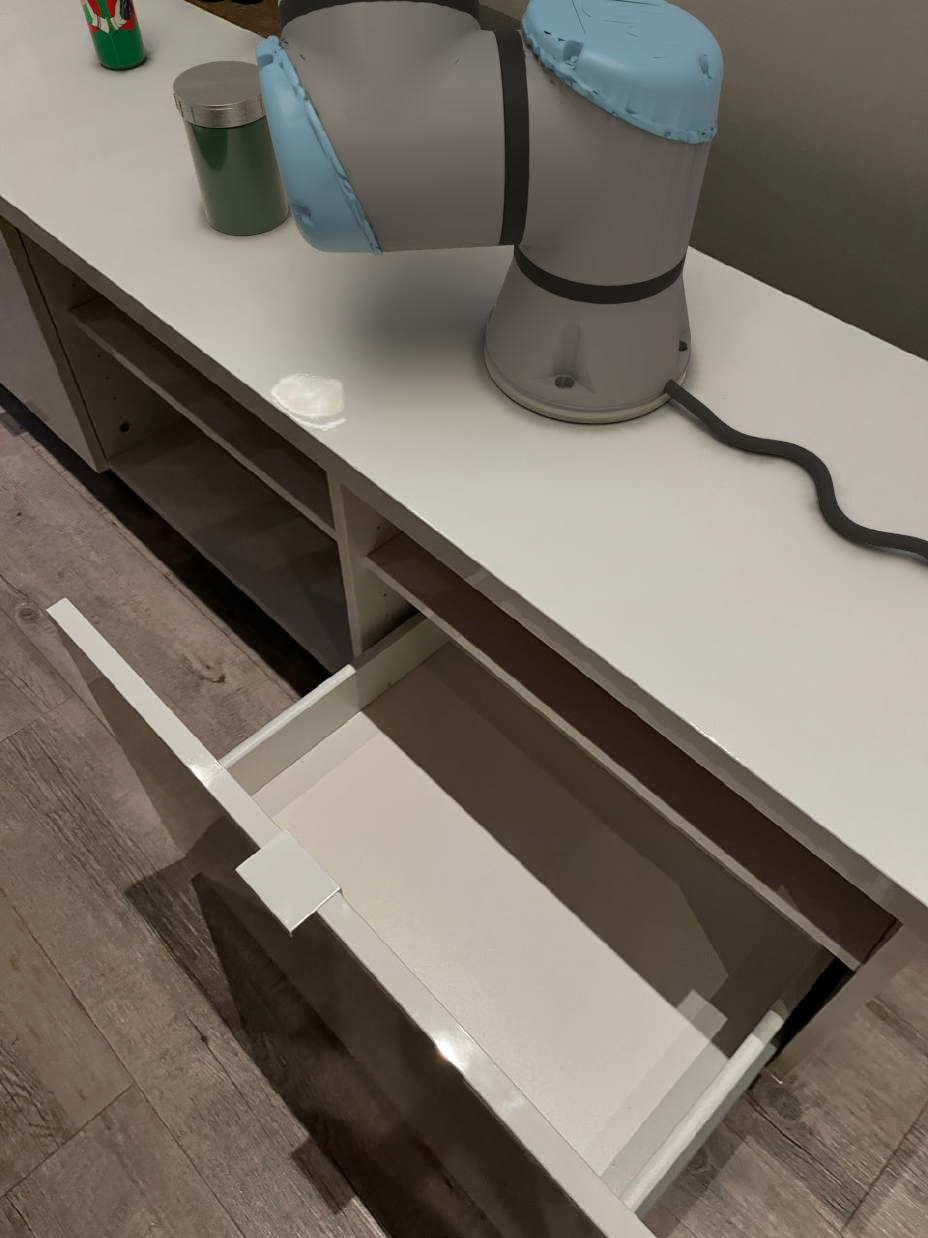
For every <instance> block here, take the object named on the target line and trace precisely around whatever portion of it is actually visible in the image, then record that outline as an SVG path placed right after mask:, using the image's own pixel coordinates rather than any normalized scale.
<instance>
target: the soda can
mask: <svg viewBox="0 0 928 1238" xmlns="http://www.w3.org/2000/svg"><path fill="white" fill-rule="evenodd" d="M79 1H80V4H81V8H82V11H83V14H84V19H85V21H86V24H87V27H88V31H89V34H90V37H91V41H92V43H93V47H94V51H95V54H96V58H97V60H98V62H100V64H102V65H103V66H104V67H106V68H108V69H110V70H119V71H120V70H121V71H122V70H129V69H132V68H135V67H137V66H139V65H140V64H142V63H143V61H144V60H145V57H146V54H147V50H146V46H145V43H144V39H143V35H142V31H141V27H140V23H139V18H138V15H137V12H136V8H135V4H134V1H133V0H79Z"/></svg>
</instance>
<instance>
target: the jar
mask: <svg viewBox="0 0 928 1238" xmlns="http://www.w3.org/2000/svg"><path fill="white" fill-rule="evenodd" d="M182 122H183V126H184V130H185V134H186V138H187V139H186V140H187V143H188V148H189V151H190V155H191V159H192V164H193V167H194V168H193V169H194V171H195V176H196V180H197V185H198V189H199V192H200V193H199V194H200V197H201V201H202V205H203V210H204V214H205V218H206V221H207V223H208V225H209V226H210V227H211V228H213V229H214V230H216V231H218V232H219V233H223V234H225V235H231V236H238V237H239V236H240V237H241V236H242V237H243V236H253V235H254V236H255V235H259V234H263V233H266V232H269V231H271V230H273V229H276V228H278V226H280V225H281V224H283V222H284V221H285V220H286V219H287V217H288V216H289V212H290V211H289V209H290V207H289V203H288V200H287V196H286V193H285V189H284V186H283V182H282V179H281V175H280V171H279V167H278V163H277V159H276V155H275V151H274V147H273V143H272V139H271V135H270V130H269V126H268V121H267V117H266V115H264V116H263V117H261V118H260V119H258V120H256V121H253V122H251V123H248V124H244V125H240V126H235V127H226V128H212V127H204V126H199V125H196V124H193V123H190V122H188V121H187V120H185V119H184V118H182Z"/></svg>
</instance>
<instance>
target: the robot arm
mask: <svg viewBox="0 0 928 1238" xmlns="http://www.w3.org/2000/svg"><path fill="white" fill-rule="evenodd" d="M277 7H278V16H279V28H280V29H279V30H280V37H278V36H277V35H269V36H268V37H267V38H266V39H263V40H261V41H259V42H258V43H257V45H256V47H255V60H256V63H257V66H258V70H259V81H260V87H261V93H262V98H263V103H264V108H265V112H266V117H267V121H268V126H269V130H270V135H271V139H272V143H273V147H274V151H275V155H276V159H277V163H278V167H279V171H280V175H281V179H282V182H283V186H284V189H285V193H286V196H287V202H288V207H289V209H290V212H291V215H292V219H293V221H294V224H295V226H296V228H297V231H298V233H299V234H300V236H301V237H302V239H303V240H304V241H305V242H306V244H308V245H309V246H310V247H312V248H314V249H315V250H317V251H320V252H323V253H329V254H331V253H333V254H335V253H336V254H337V253H341V254H342V253H343V254H344V253H345V254H347V253H350V254H352V253H353V254H355V253H356V254H357V253H359V254H361V253H362V254H366V253H367V254H368V253H371V254H372V255H373V256H375V257H376V256H382V255H383V253H395V252H412V251H413V252H414V251H415V252H416V251H431V250H448V249H449V250H452V249H471V248H489V247H490V248H491V247H502V246H505V247H506V246H513V256H512V260H511V263H510V264H509V267H508V270H507V272H506V274H505V277H504V280H503V282H502V285H501V288H500V290H499V293H498V295H497V299H496V301H495V304H494V305H493V307H492V309H491V311H490V313H489V316H488V319H487V323H486V328H485V332H484V333H485V334H484V361H485V365H486V368H487V371H488V373H489V376H490V377H491V379H492V380H493V381H494V383H495V384H496V385H497V386H498V388H499V389H500V390H501V391H502V392H503V393H504V394H505V395H507V396H508V397H509V398H510V399H512V400H513V401H515V402H516V403H517V404H519V405H521V406H522V407H525V408H526V409H528V410H530V411H533V412H535V413H537V414H540V415H543V416H545V417H548V418H551V419H552V418H553V419H557V420H561V421H565V422H572V423H583V424H605V423H607V424H609V423H616V422H621V421H626V420H630V419H633V418H637V417H640V416H643V415H646V414H648V413H650V412H652V411H654V410H656V409H658V408H660V407H661V406H663V405H664V404H665V403H666V402H668V401H669V400H670V399H673V400H674V401H675V402H677V403H678V404H679V405H681V406H682V407H683V408H684V409H686V410H687V411H688V412H689V413H691V414H692V415H693V416H695V417H696V418H697V419H698V420H700V422H702V424H704V425H705V426H706V427H707V428H708V429H709V430H710V431H711V432H712V433H714V434H715V435H716V436H717V437H719V438H720V439H721V440H723V441H724V442H726V443H729V444H731V445H733V446H734V447H737V448H740V449H743V450H746V451H747V450H748V451H750V452H751V451H752V452H755V453H756V452H757V453H762V454H768V455H769V454H770V455H776V456H782V457H785V458H789V459H792V460H795V461H796V462H799V463H800V464H802V465H803V466H804V467H805V468H806V469H808V470H809V472H810V473H811V474H812V476H813V478H814V481H815V483H816V488H817V495H818V499H819V504H820V507H821V511H822V512H823V514H824V516H825V518H826V519H827V521H828V522H829V523H830V525H832V527H834V528H835V530H837V531H838V532H840V533H842V534H843V535H844V536H846V537H849V538H850V539H852V540H854V541H857V542H859V543H862V544H866V545H869V546H874V547H879V548H886V549H892V550H899V551H904V552H909V553H912V554H915V555H918V556H920V557H922V558H924V559H925V560H926V561H928V540H926V539H924V538H921V537H917V536H913V535H908V534H903V533H896V532H890V531H883V530H877V529H874V528H869V527H866V526H864V525H860V524H859V523H856V522H855V521H854V520H852V519H850V518H849V517H848V516H847V515H846V514H845V513H844V512H843V511H842V509H841V507H840V505H839V503H838V500H837V497H836V496H837V495H836V491H835V487H834V481H833V478H832V475H831V472H830V470H829V468H828V467H827V465H826V464H825V462H824V461H823V460H822V459H821V458H820V457H819V456H818V455H816V454H815V453H814V452H812V451H810V450H809V449H808V448H806V447H803V446H801V445H799V444H796V443H794V442H789V441H784V440H780V439H779V440H778V439H771V438H765V437H759V436H754V435H750V434H747V433H744V432H741V431H739V430H737V429H735V428H733V427H731V426H730V425H729V424H727V423H725V421H724V420H722V419H721V418H720V417H719V416H718V415H717V414H716V413H714V412H713V411H712V410H711V409H710V408H709V407H708V406H707V405H706V404H704V403H703V402H702V401H700V400H699V399H698V398H697V397H695V396H694V395H692V394H691V392H689V391H688V390H686V389H685V388H683V387H682V385H683V383H684V380H685V378H686V376H687V375H686V374H687V370H688V367H689V363H690V358H691V352H692V334H691V327H690V319H689V311H688V305H687V298H686V289H685V283H684V275H683V274H684V273H683V272H684V269H685V268H684V267H685V262H686V259H687V258H686V257H687V253H688V248H689V245H690V240H691V236H692V232H693V231H692V230H693V226H694V222H695V218H696V213H697V208H698V204H699V199H700V195H701V190H702V185H703V181H704V177H705V172H706V167H707V163H708V160H709V155H710V150H711V146H712V142H713V139H714V138H715V136H716V134H717V133H718V132H717V131H718V127H719V126H718V124H719V123H718V112H719V106H720V99H721V91H722V84H723V77H724V67H725V66H724V57H723V54H722V53H723V52H722V50H721V47H720V45H719V43H718V40H717V39H716V37H715V36H714V34H713V33H712V32H711V31H710V30H709V28H708V27H707V26H706V25H705V24H704V23H703V22H701V21H700V20H699V19H698V18H697V17H695V16H694V15H693V14H691V13H690V12H688V11H686V10H684V9H683V8H681V7H679V6H677V5H675V4H673V3H671V2H669V1H668V0H667V1H666V0H530V1H529V3H528V4H527V7H526V10H525V12H524V13H523V15H522V17H521V23H520V24H521V29H512V30H511V29H510V30H509V29H508V30H484V29H481V15H480V0H277Z"/></svg>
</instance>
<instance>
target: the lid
mask: <svg viewBox="0 0 928 1238" xmlns="http://www.w3.org/2000/svg"><path fill="white" fill-rule="evenodd" d="M172 91H173V93H172V95H173V99H174V103H175V107H176V110H178V113H179V115H180V116H181V118H182V119H183V118H184V119H185V120H187V121H188V122H190V123H193V124H196V125H199V126H204V127H212V128H226V127H235V126H240V125H244V124H248V123H251V122H253V121H256V120H258V119H260V118H261V117H263V116H264V115H266V112H265V108H264V103H263V98H262V93H261V87H260V81H259V70H258V64H254V63H252V62H251V63H250V62H246V61H240V60H217V61H216V60H215V61H210V62H209V61H208V62H204V63H201V64H198V65H195V66H193V67H190V68H188V69H185V70H184V71H183V72H181V73H179V74H178V76H177V77H175V79H174V80H173V83H172Z"/></svg>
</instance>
